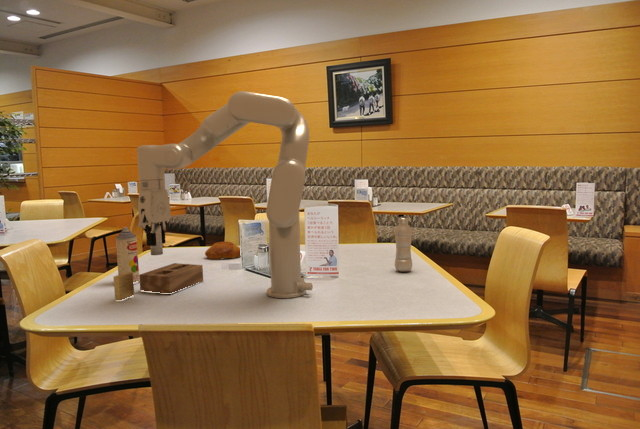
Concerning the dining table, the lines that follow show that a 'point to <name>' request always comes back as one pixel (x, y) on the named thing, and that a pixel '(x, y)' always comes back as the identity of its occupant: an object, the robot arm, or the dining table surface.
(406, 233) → the plastic bottle
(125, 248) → the aerosol can
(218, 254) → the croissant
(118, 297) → the tan wooden block
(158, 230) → the small grey capped bottle
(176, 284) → the socket block
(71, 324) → the dining table surface
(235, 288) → the dining table surface
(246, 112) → the robot arm
